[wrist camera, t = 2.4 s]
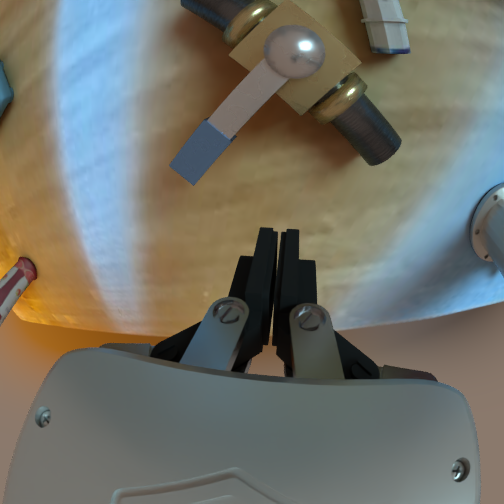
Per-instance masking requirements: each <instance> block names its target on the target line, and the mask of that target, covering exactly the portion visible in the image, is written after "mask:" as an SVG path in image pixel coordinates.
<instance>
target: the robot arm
mask: <svg viewBox="0 0 504 504" xmlns="http://www.w3.org/2000/svg"><path fill="white" fill-rule="evenodd" d="M277 241H278V232H276V231H273V228H264V227H260V231H259V235H258V239H257V243H256V248H255V252H254V256H240V258H239V261H238V264H237V268H236V271H235V275H234V278H233V281H232V285H231V288H230V292H229V295H228V297H225V298H221V299H218V300H217V301H215V302H214V303H213V304H212V305H211V306H210V308H209V309H208V311H207V313H206V315H205V317H204V318H203V320H202V321H201V322H199V323H197V324H195V325H193V326H191V327H189V328H187V329H185V330H183V331H181V332H179V333H177V334H175V335H173V336H171V337H169V338H167V339H165V340H164V341H161V342H160V343H158V344H157V345H156V346H151V345H150V344H134V343H131V344H130V343H127V344H125V343H107V344H104V345H102V346H100V347H99V348H81V349H75V350H72V351H69V352H67V353H65V354H63V355H62V356H61V357H60V358H59V359H58V360H57V361H56V362H55V364H54V365H53V367H52V368H51V370H50V371H49V373H48V374H47V376H46V378H45V379H44V381H43V383H42V385H41V387H40V389H39V391H38V392H37V394H36V396H35V398H34V401H33V403H32V405H31V407H30V410H29V412H28V415H27V417H26V419H25V422H24V424H23V427H22V430H21V432H20V435H19V437H18V441H17V444H16V447H15V450H14V454H13V457H12V461H11V464H10V468H9V471H8V476H7V481H6V486H5V492H4V497H3V504H480V494H481V492H480V491H481V478H480V476H481V475H480V455H479V445H478V439H477V432H476V427H475V422H474V418H473V415H472V411H471V409H470V406H469V403H468V401H467V399H466V398H465V396H464V395H463V394H462V393H461V392H460V391H459V390H457V389H455V388H454V387H451V386H449V385H446V384H443V383H440V382H438V381H437V379H436V378H435V377H434V376H433V375H432V374H431V373H428V372H423V371H416V370H410V369H405V368H399V367H394V366H388V365H384V366H383V367H379V366H377V365H376V364H375V363H374V362H373V361H372V360H371V359H370V358H368V357H367V356H366V355H365V354H363V353H362V352H361V351H360V350H358V349H357V348H356V347H355V346H353V345H352V344H351V343H350V342H348V341H347V340H346V339H345V338H343V337H342V336H341V335H340V334H339V333H337V332H336V331H335V330H334V329H333V326H332V322H331V318H330V315H329V313H328V311H327V310H326V309H325V308H323V307H322V306H320V305H317V285H316V264H315V260H300V259H299V230H298V229H287V231H286V232H281V241H280V250H279V259H278V268H277ZM470 241H471V245H472V248H473V249H474V251H475V253H476V254H477V255H478V257H480V258H481V259H482V260H485V261H490V262H494V263H495V265H496V266H497V268H498V269H499V271H500V272H501V274H502V275H503V277H504V183H502V184H499V185H498V186H496V187H494V188H493V189H492V190H490V191H489V192H488V193H487V194H486V195H485V197H484V198H483V199H482V201H481V202H480V204H479V205H478V207H477V209H476V211H475V214H474V216H473V219H472V223H471V228H470ZM276 272H277V276H276ZM273 304H274V314H273V338H272V345H273V346H277V351H276V355H277V356H278V357H279V358H280V359H281V360H283V361H284V374H285V377H278V376H267V375H257V374H247V373H248V370H249V367H250V365H251V361H252V358H253V357H254V356H256V355H257V354H259V353H260V352H262V349H263V345H268V342H269V335H270V327H271V319H272V312H273Z"/></svg>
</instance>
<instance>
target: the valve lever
mask: <svg viewBox="0 0 504 504" xmlns="http://www.w3.org/2000/svg"><path fill="white" fill-rule="evenodd" d="M264 57H265V58H264V59H263V60H262V61H261V62H260V63H259V64H258V65H257V66H256V67H255V68H254V69H253V70H252V71H251V72H250V73H249V74H248V75H247V76H246V77H245V78H244V79H243V80H242V81H241V83H240V84H239V85H238V86H237V87H236V88H235V89H234V90H233V91H232V92H231V93H230V95H229V96H228V97H227V98H226V99H225V100H224V101H223V103H222V104H221V105H220V106H219V107H218V108H217V109H216V111H215V112H214V113H213V114H212V115H211V116H210V117H208V118H206V119H204V120H203V122H202V123H201V124H200V125H199V127H198V128H197V129H196V130H195V132H194V133H193V134H192V135H191V137H190V138H189V139H188V141H187V142H186V143H185V145H184V146H183V147H182V149H181V150H180V151H179V153H178V154H177V155H176V157H175V158H174V159H173V161H172V162H171V164H170V165H169V166H170V167H171V168H172V169H174V170H175V171H176V172H177V173H179V174H180V175H181V176H182V177H183V178H185V179H186V180H187V181H188V182H190V183H191V184H192V185H193V186H194V185H195V184H196V183H197V181H198V180H199V179H200V178H201V177H202V176H203V174H204V173H205V172H206V171H207V170H208V169H209V167H210V166H211V165H212V164H213V163H214V162H215V160H216V159H217V158H218V157H219V156H220V155H221V154H222V152H223V151H224V150H225V149H226V148H227V147H228V146H229V145H230V143H231V142H232V141H233V140H234V139H235V138H236V137H237V136H236V135H235V134H236V133H237V132H238V131H239V130H240V129H241V128H242V127H243V126H244V124H245V123H246V122H247V121H248V120H249V119H250V118H251V117H252V116H253V115H254V114H255V113H256V112H257V111H258V110H259V109H260V108H261V107H262V106H263V105H264V104H265V103H266V102H267V101H268V100H269V99H270V98H271V97H272V96H273V95H274V94H275V93H276V92H277V91H278V90H279V89H280V88H281V87H282V86H283V85H284V84H285V83H286V82H287V81H288V80H289V79H290V78H293V79H300V78H305V77H308V76H311V75H313V74H314V73H316V72H317V71H318V70H319V69H320V68H321V66H322V65H323V63H324V60H325V47H324V44H323V42H322V40H321V38H320V37H319V36H318V35H317V34H316V33H315V32H314V31H312V30H311V29H309V28H307V27H304V26H300V25H285V26H282V27H279V28H277V29H276V30H274V31H273V32H271V34H270V35H269V36H268V37H267V39H266V41H265V44H264Z"/></svg>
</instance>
